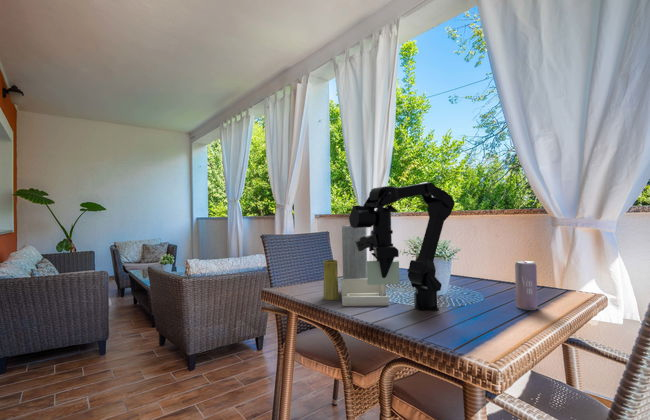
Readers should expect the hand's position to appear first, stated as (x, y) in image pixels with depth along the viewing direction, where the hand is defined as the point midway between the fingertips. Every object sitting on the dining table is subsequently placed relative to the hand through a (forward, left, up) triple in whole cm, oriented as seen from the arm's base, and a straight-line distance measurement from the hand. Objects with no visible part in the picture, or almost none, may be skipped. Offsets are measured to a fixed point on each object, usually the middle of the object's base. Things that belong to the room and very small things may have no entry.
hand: (383, 276), depth 101 cm
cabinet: (+5, -18, -12) cm, 22 cm away
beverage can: (-47, -6, -12) cm, 49 cm away
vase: (+17, -22, -12) cm, 30 cm away
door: (0, 0, -2) cm, 2 cm away
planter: (+7, -33, -12) cm, 36 cm away
